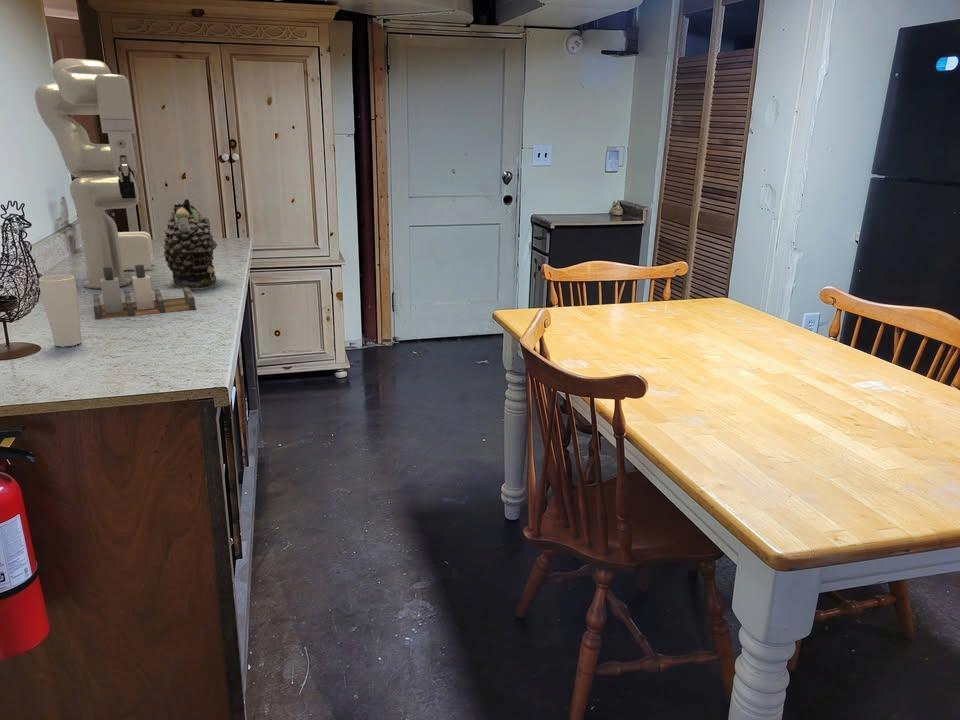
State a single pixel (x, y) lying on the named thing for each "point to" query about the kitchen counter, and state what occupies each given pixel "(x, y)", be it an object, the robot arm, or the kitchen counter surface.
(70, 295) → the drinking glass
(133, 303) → the wooden divided tray
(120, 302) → the grey plug
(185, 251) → the decorative house
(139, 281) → the cream plug
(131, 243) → the cable organizer
